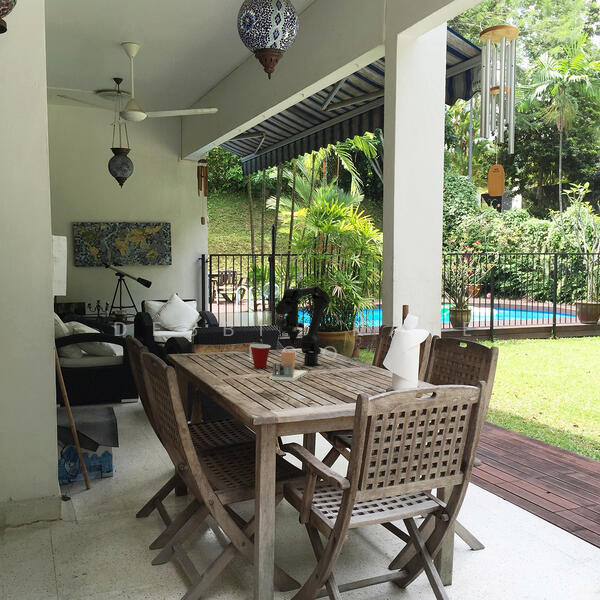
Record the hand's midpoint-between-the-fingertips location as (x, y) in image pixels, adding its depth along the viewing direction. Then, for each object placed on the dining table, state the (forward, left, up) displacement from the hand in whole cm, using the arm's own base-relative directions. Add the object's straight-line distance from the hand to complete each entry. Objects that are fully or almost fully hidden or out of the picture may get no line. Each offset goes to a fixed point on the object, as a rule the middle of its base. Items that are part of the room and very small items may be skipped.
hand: (292, 343), depth 327 cm
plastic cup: (+11, -13, -13) cm, 22 cm away
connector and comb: (+19, +19, -12) cm, 29 cm away
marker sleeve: (+14, +16, -11) cm, 24 cm away
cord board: (+13, +15, -13) cm, 24 cm away
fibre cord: (+14, +15, -11) cm, 23 cm away
